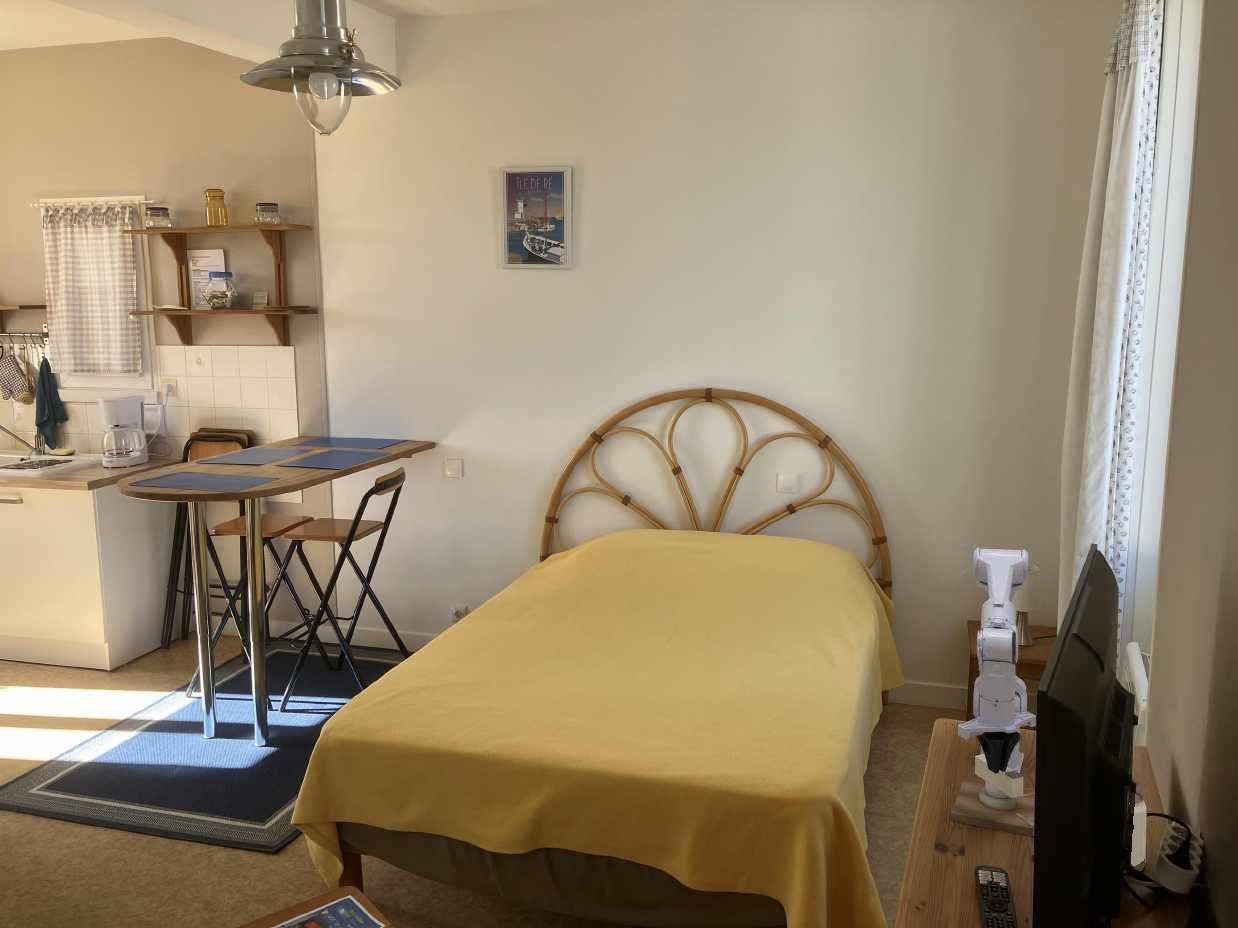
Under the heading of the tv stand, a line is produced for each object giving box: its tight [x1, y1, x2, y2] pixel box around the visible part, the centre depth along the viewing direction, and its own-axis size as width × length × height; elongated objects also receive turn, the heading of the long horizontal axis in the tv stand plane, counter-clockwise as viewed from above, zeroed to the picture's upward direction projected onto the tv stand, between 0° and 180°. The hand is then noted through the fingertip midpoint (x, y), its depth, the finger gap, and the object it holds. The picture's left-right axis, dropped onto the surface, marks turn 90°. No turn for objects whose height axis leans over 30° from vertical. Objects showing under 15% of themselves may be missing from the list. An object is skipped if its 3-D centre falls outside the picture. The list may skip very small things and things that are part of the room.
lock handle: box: [974, 754, 1024, 798], centre depth 172 cm, size 10×4×5 cm, turn 17°
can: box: [1129, 790, 1147, 866], centre depth 153 cm, size 6×6×12 cm
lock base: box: [950, 776, 1035, 837], centre depth 172 cm, size 15×14×3 cm
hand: (996, 770), depth 167 cm, fingers closed
